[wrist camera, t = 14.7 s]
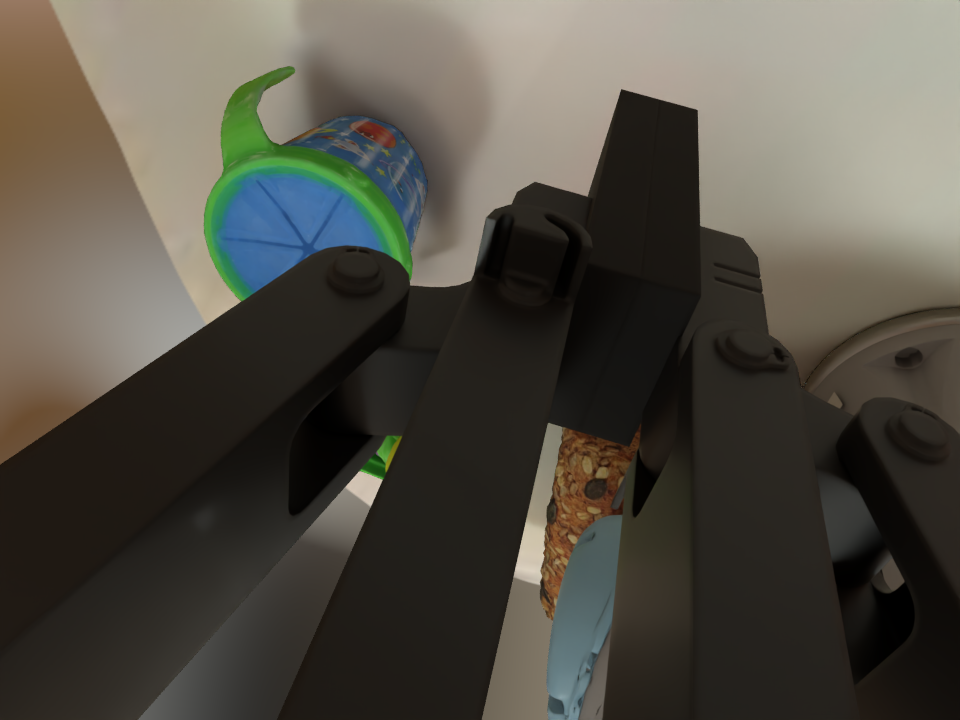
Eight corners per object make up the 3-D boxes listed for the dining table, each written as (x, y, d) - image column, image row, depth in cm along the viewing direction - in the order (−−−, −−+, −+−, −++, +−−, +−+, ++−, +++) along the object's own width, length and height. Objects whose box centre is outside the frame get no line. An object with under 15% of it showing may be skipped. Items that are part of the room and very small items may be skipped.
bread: (677, 563, 59) (674, 678, 51) (547, 536, 60) (526, 644, 53) (734, 391, 47) (742, 507, 39) (571, 364, 49) (549, 470, 41)
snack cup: (490, 271, 46) (449, 369, 38) (347, 295, 50) (283, 389, 42) (401, 13, 37) (325, 72, 30) (237, 66, 41) (132, 130, 33)
